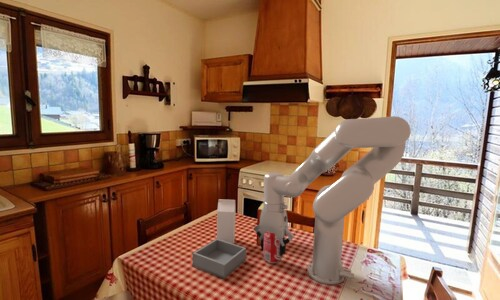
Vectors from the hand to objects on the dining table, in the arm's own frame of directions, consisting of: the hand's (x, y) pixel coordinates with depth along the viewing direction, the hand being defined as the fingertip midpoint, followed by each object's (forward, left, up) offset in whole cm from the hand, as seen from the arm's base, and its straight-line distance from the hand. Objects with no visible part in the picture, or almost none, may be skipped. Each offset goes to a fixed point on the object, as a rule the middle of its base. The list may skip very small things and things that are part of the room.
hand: (272, 251), depth 98 cm
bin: (+16, +12, -4) cm, 20 cm away
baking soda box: (+10, -14, -4) cm, 17 cm away
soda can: (0, 0, -3) cm, 3 cm away
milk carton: (+24, -3, -4) cm, 24 cm away
